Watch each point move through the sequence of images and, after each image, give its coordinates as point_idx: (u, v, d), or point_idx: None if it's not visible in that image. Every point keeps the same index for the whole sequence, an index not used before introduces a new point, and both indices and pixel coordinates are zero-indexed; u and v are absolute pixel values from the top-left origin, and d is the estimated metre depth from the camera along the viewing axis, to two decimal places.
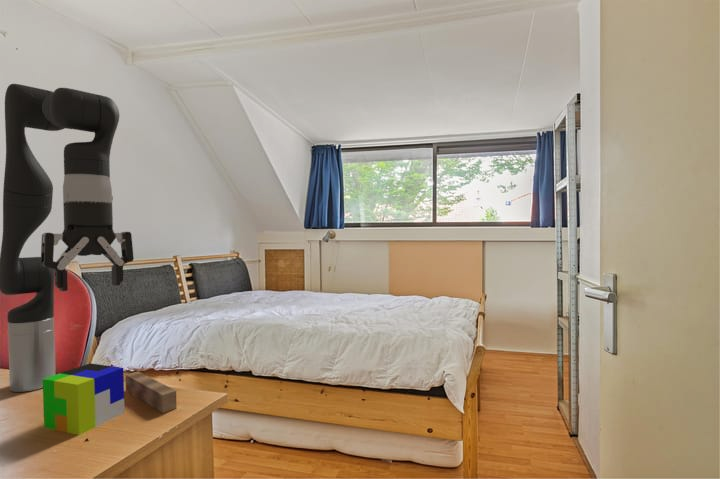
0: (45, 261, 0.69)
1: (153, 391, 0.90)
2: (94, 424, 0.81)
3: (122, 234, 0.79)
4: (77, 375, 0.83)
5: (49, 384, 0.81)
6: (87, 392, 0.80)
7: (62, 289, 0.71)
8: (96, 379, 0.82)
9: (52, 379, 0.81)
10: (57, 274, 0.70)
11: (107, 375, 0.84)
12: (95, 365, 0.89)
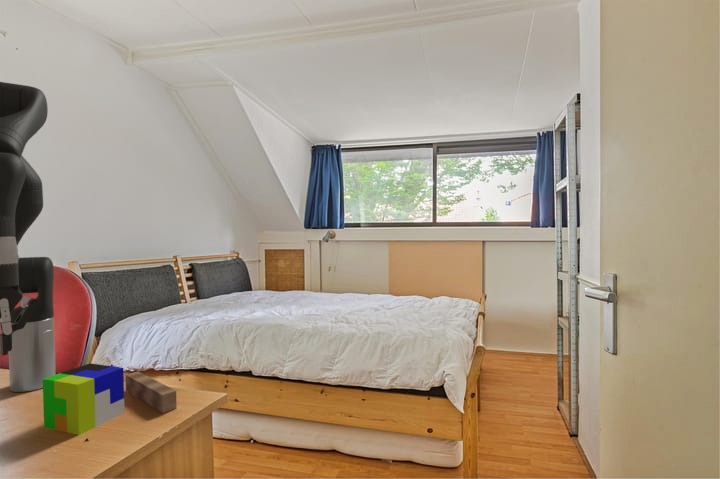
0: None
1: (153, 391, 0.90)
2: (94, 424, 0.81)
3: (29, 299, 0.77)
4: (77, 375, 0.83)
5: (49, 384, 0.81)
6: (87, 392, 0.80)
7: None
8: (96, 379, 0.82)
9: (52, 379, 0.81)
10: None
11: (107, 375, 0.84)
12: (95, 365, 0.89)
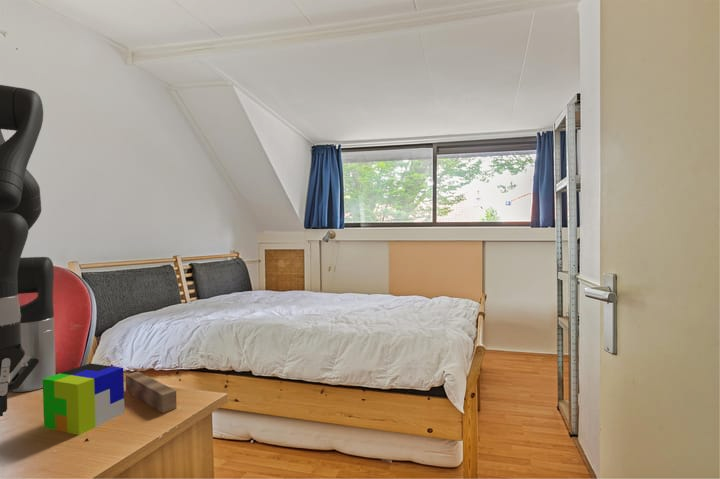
0: None
1: (153, 391, 0.90)
2: (94, 424, 0.81)
3: (30, 358, 0.77)
4: (77, 375, 0.83)
5: (49, 384, 0.81)
6: (87, 392, 0.80)
7: None
8: (96, 379, 0.82)
9: (52, 379, 0.81)
10: None
11: (107, 375, 0.84)
12: (95, 365, 0.89)
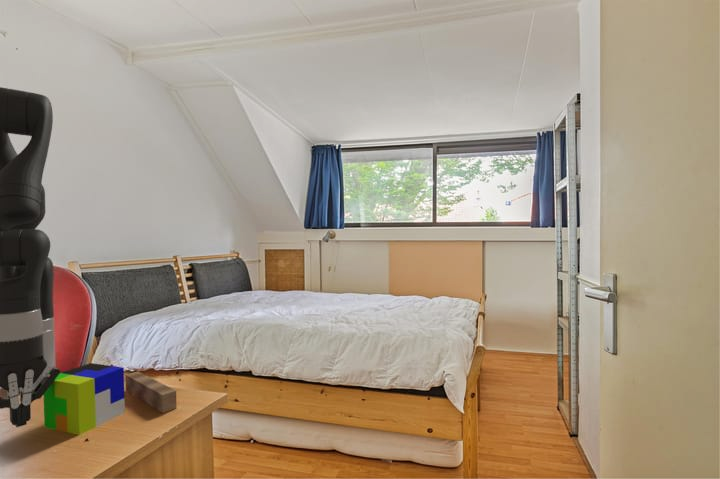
0: None
1: (153, 391, 0.90)
2: (94, 424, 0.81)
3: (52, 369, 0.80)
4: (77, 375, 0.83)
5: None
6: (87, 391, 0.80)
7: (16, 425, 0.75)
8: (96, 378, 0.82)
9: None
10: (11, 412, 0.75)
11: (107, 375, 0.84)
12: (95, 365, 0.89)
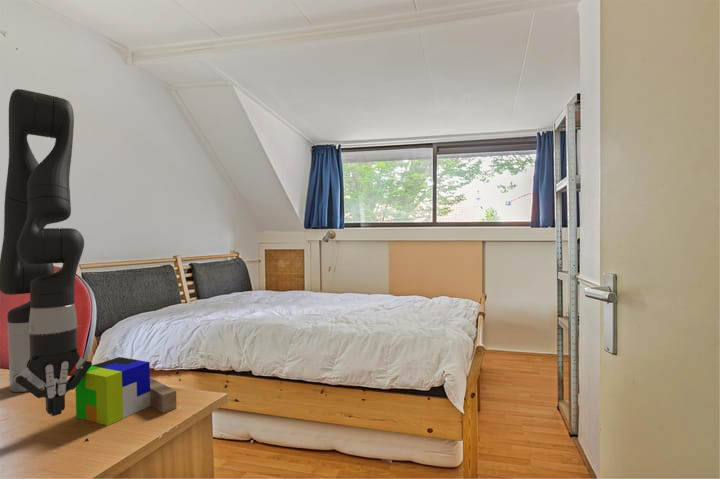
0: (37, 393, 0.77)
1: (153, 391, 0.90)
2: (122, 415, 0.85)
3: (84, 361, 0.84)
4: (107, 368, 0.87)
5: None
6: (115, 384, 0.83)
7: (52, 414, 0.79)
8: (124, 372, 0.85)
9: None
10: (48, 401, 0.79)
11: (134, 368, 0.87)
12: (124, 359, 0.93)
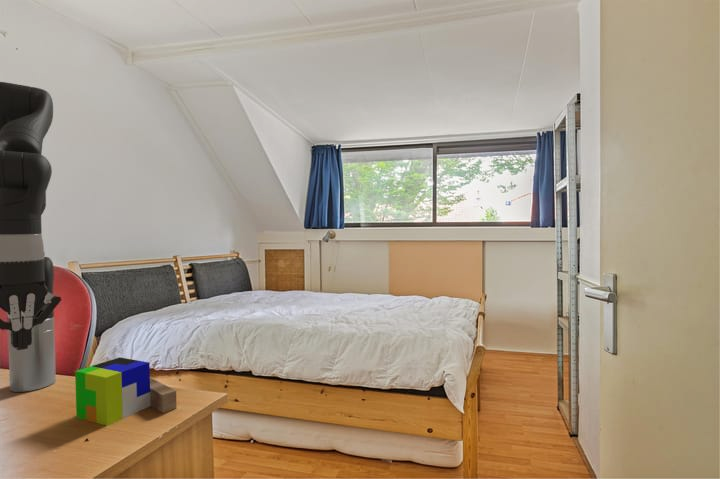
0: (0, 324, 0.73)
1: (153, 391, 0.90)
2: (121, 416, 0.85)
3: (53, 296, 0.80)
4: (106, 368, 0.87)
5: (81, 376, 0.85)
6: (114, 384, 0.83)
7: (17, 348, 0.75)
8: (123, 372, 0.85)
9: (84, 371, 0.85)
10: (12, 334, 0.75)
11: (133, 369, 0.87)
12: (124, 359, 0.93)
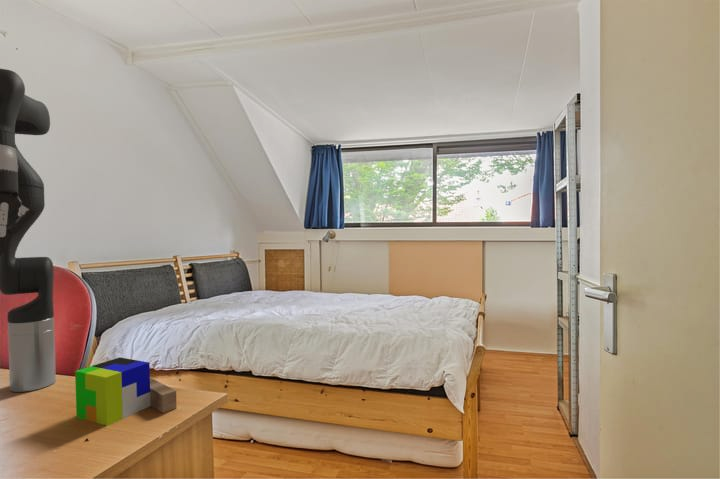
0: None
1: (153, 391, 0.90)
2: (121, 416, 0.85)
3: (27, 210, 0.83)
4: (106, 368, 0.87)
5: (81, 376, 0.85)
6: (114, 384, 0.83)
7: None
8: (123, 372, 0.85)
9: (84, 371, 0.85)
10: None
11: (133, 369, 0.87)
12: (124, 359, 0.93)
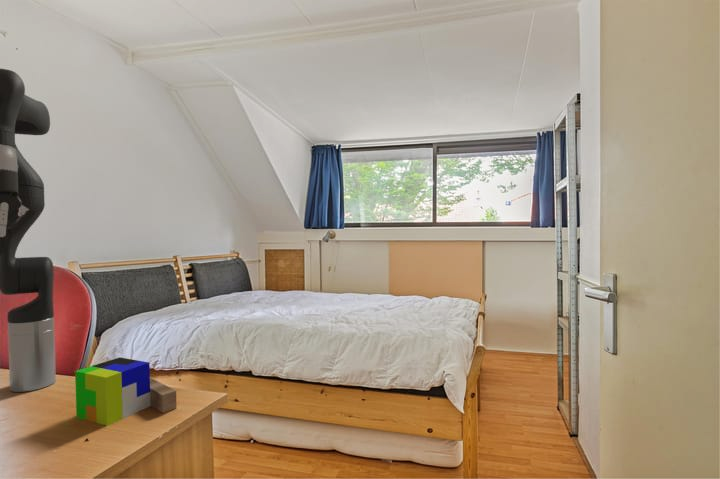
0: None
1: (153, 391, 0.90)
2: (121, 416, 0.85)
3: (27, 209, 0.83)
4: (106, 368, 0.87)
5: (81, 376, 0.85)
6: (114, 384, 0.83)
7: None
8: (123, 372, 0.85)
9: (84, 371, 0.85)
10: None
11: (133, 369, 0.87)
12: (124, 359, 0.93)
